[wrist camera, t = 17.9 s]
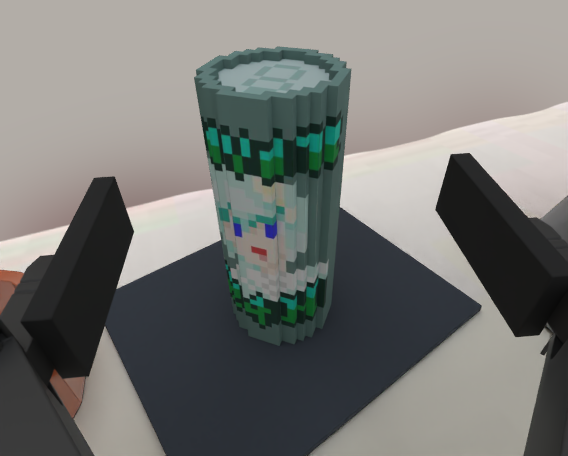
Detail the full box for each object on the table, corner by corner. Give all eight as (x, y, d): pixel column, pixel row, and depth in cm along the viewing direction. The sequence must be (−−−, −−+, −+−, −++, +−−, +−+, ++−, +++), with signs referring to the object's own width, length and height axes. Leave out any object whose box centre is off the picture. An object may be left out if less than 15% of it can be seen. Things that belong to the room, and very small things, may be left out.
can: (219, 326, 25) (168, 87, 15) (258, 261, 29) (238, 43, 19) (311, 356, 23) (322, 107, 13) (339, 282, 27) (362, 53, 18)
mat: (320, 197, 36) (320, 193, 35) (480, 310, 26) (482, 305, 25) (95, 304, 27) (93, 299, 27) (206, 539, 17) (204, 536, 17)
